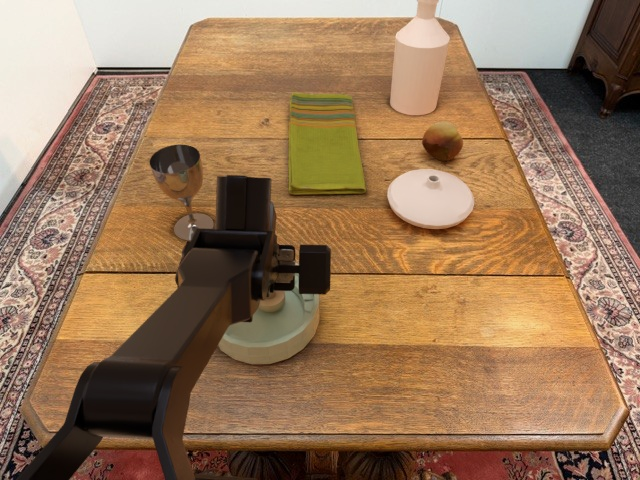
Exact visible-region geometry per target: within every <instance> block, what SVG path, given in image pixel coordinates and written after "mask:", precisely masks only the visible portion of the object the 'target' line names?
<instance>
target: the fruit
mask: <svg viewBox="0 0 640 480" xmlns="http://www.w3.org/2000/svg"><path fill="white" fill-rule="evenodd" d="M421 145H422V147H423V149H424V150H425V151H426V153H427V154H428V155H430V156H432V157H434V158H435V159H436V160H438V161H440V162H444V161H450V160H452V159H454V158H455V157H456V156H458V155H459V154H460V153H461V151H462V149H463V147H464V140H463V136H462V135H461V134H460V133H459V131H458V128H457V126H456V125H455V124H454V123H453V122H450V121H446V120H445V121H443V120H441V121H438V122H435V123H433V124H432V125H430V126H429V127H428V128H427V129H426V130H425V132H424V134H423V136H422V138H421Z"/></svg>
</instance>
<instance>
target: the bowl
mask: <svg viewBox="0 0 640 480" xmlns="http://www.w3.org/2000/svg"><path fill="white" fill-rule="evenodd" d="M295 265H299V262H298V263H297V262H296V261H295ZM285 298H286V299H285V303H284V305H283V306H282V307H281V308H280V309H279V310H277V311H274V312H263V311H261V310H259V309H257V311H256V312H255V313H254V314H253V320H252V322H239V323H236V324H233V325H230V326H229V327H228V328H227V330H226V332H225V334H224V335H223V337H222V339H221V341H220V342H219V344H218V346H217V348H219V350H220V351H221V352H222V353H224V354H226V355H227V356H228V357H230V358H231V359H233V360H235V361H238V362H242V363H245V364H249V365H271V364H272V365H273V364H275V363H278V362H281V361H284V360H287V359H290V358H291V357H293V356H295V355H296V354H298V353H299V352H301V351H302V350H304V348H305V347H306V346H307V345H308V344H309V343H310V341H311V340H312V339H313V338H314V336H315V335H316V332H317V329H318V328H319V324H320V294H299V273H295V287H294V289H293V290H292V291H285Z"/></svg>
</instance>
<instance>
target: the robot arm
mask: <svg viewBox="0 0 640 480" xmlns="http://www.w3.org/2000/svg"><path fill="white" fill-rule="evenodd" d="M215 192H216V193H215V196H216V197H215V218H214V228H213V229H208V228H197V229H196V231H195V233H194V236H193V238H192V240H186V243H185V244H184V246H183V248H182V249H181V258H180V260H179V263H178V266H177V269H176V272H175V275H174V280H175V284H176V285H177V287H176V289H175V290H174V291H173V292H172V293H171V294H170V295H169V296H168V297H167V299H165V301H163V302H162V303H161V304H160V306H158V308H156V309H155V311H154V312H153V313H152V314H150V316H148V317H147V318H146V320H145V321H144V322H143V323H142V324H141V325H140V326H139V327H138V328H137V329H136V330H135V331H134V332H133V333H132V334H131V335H130V336H129V337H128V338H127V339H126V340H124V342H123V343H122V344H121V345H120V346H119V347H118V348H117V349H116V350H115V351H114V352H113V353H112V354H111V355H110V356H108V357H106V358H104V359H102V360H101V361H93V362H91V363H90V364H88V365H87V366H86V368H84V370H83V371H82V373H81V374H80V376H79V377H78V381H77V382H76V385H75V387H74V390H73V394H72V397H71V400H70V404H69V407H68V409H67V410H68V411H67V414H66V417H65V420H64V422H63V424H62V426H61V427H59V429H58V430H57V431H56V433H55V434H54V435H53V436H52V437H51V439H50V440H49V441H48V442H47V443H46V444H45V445H44V447H42V449H41V450H40V451H39V452H38V453H37V455H36V456H35V457H34V458H33V459H32V461H30V463H29V464H28V465H27V466H26V467H25V469H23V471H22V472H21V473H20V474H19V475H18V476H17V478H16V479H15V480H71V478H72V477H73V476H74V475H75V473H76V472H77V471H78V470H79V469H80V467H81V466H82V465H83V464H84V462H85V461H86V460H87V459H88V458H89V456H90V455H91V454H92V453H93V452H94V450H95V449H96V448H97V447H98V446H99V444H100V443H101V442H102V440H103V439H104V438H119V439H132V440H133V439H134V440H135V439H136V440H151V441H153V443H154V447H155V450H156V454H157V457H158V460H159V463H160V467H161V471H162V474H163V478H164V480H258V478H256V477H255V478H254V477H242V476H241V477H240V476H227V475H209V474H195V473H194V471H193V467H192V465H191V462H190V458H189V455H188V452H187V449H186V446H185V444H184V433H185V428H186V424H187V418H188V413H189V408H190V400H191V394H192V391H193V390H194V388H195V386H196V384H197V383H198V381H199V379H200V377H201V375H202V374H203V372H204V370H205V369H206V367H207V365H208V363H209V362H210V360H211V358H212V356H213V355H214V353H215V351H216V350H217V348H218V344H219V342H220V341H221V339H222V337H223V335H224V334H225V332H226V330H227V328H228V327H229V326H230V325H233V324H236V323H239V322H252V320H253V314H254V313H255V312H256V311H257V309H258V307H259V304H260V301H265V299H266V297H269V296H270V293H274V291H292V290H293V289H294V287H295V273H299V294H319V295H327V294H328V293H329V292H331V271H332V266H331V265H332V249H331V248H330V247H329V246H328V245H327V244H299V250H298V251H299V252H298V264H299V265H295V262H296V247H295V246H294V245H292V244H280V243H278V235H277V234H276V228H277V216H278V215H277V212H276V208H275V205H274V202H273V201H272V178H271V177H255V176H254V177H253V176H247V175H243V174H242V175H241V174H239V175H237V174H227V175H226V176H220V175H219V176H217V177H216V191H215Z"/></svg>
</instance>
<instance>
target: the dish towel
mask: <svg viewBox="0 0 640 480" xmlns="http://www.w3.org/2000/svg"><path fill="white" fill-rule="evenodd" d="M288 117H289V118H288V119H289V120H288V193H289V194H290V195H349V194H350V195H352V194H353V195H354V194H359V195H360V194H365V193H366V191H367V188H366V181H365V175H364V168H363V163H362V158H361V153H360V152H361V151H360V146H359V139H358V134H357V133H358V132H357V123H356V115H355V109H354V101H353V96H351V95H348V94H338V93H315V94H312V93H311V94H310V93H302V92H291V95H290V97H289V113H288Z"/></svg>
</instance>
